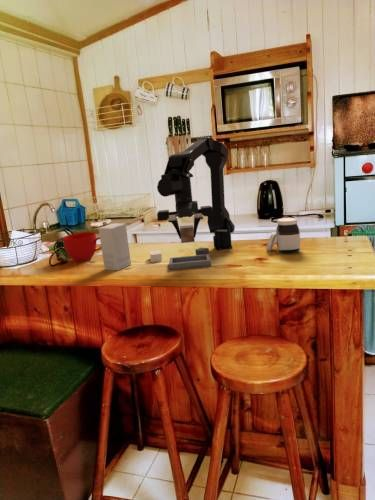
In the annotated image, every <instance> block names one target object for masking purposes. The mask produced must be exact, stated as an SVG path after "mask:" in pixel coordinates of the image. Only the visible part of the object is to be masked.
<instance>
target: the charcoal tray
mask: <svg viewBox="0 0 375 500" xmlns="http://www.w3.org/2000/svg"><path fill="white" fill-rule="evenodd" d="M209 256H210V253H209V254H204V255H196V254H195V255H187V256H186V255H185V256H175V257H174V256H173V257H169V259H168V261H169V263H168V265H169V271H175V270H185V269H196V268H204V267H212V263H211V261H212V260H211V257H209Z"/></svg>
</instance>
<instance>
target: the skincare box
mask: <svg viewBox="0 0 375 500" xmlns="http://www.w3.org/2000/svg"><path fill="white" fill-rule="evenodd" d="M98 234H99V237H100V239H99V241H100V247H101V248H102V249H101V254H102V259H103V267H104V270H105V271H106V270H107V271H115V270H118V271H120V270H122V269H125V268H127V267H129V266H130V264H131V265H132V260H131V254H130V246H129V237H128V231H127V223H125V222H122V223H121V222H120V223H119V222H117V223H115V222H114V223H110V224H107V225H104V226H101V227H98Z"/></svg>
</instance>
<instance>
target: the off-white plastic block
mask: <svg viewBox="0 0 375 500" xmlns="http://www.w3.org/2000/svg"><path fill="white" fill-rule="evenodd" d="M149 256H150V257H149V258H150V261H151V263H153V262H152V261H157V262H162V261H163V257H162V252H161V250H160V249H159V250H150V251H149ZM161 260H162V261H161Z"/></svg>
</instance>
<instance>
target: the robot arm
mask: <svg viewBox="0 0 375 500" xmlns="http://www.w3.org/2000/svg"><path fill="white" fill-rule="evenodd" d="M228 155H229V149H228V147H227V146H226V145H225V144H224V143H222V142H220V141H217V140H215V139H214V138H213V137H210V136H206V137H205V136H204V137H199V138H198V139H197V141H195V142H193V144H191V145H190V146H189V147H187V148H186V149H185V150H183V151H180V152H176V153H173V154H171V155H170V156H169V157H168V159H167V160H168V161H167V162H166V167H165V170H164V173H163V174H161V176H160V178H161V179H159V180H158V182H157V186H156V188H157V189H156V190H157V192H158V194H160V196H162V197H169V196H170V197H171V196H174V200H175V210H174V211H170V209H163V210H158V211H157V213H156V216H157V217H156V218H157V221H158V222H160V221H161V222H163V221H168V223H171V224H172V226H173V227H174V229H175V232H176V233H177V235H178V238H179V239H180V240H181V235H180V226H179V225H180V224H179V221H178V218H179V219H183V218H191V217H193V230H194V239H196V235H197V230H198V228H199V223H200V221H201V220H203V219H204V217H207V225H208V226H207V227H208V231H209V232H210V234H214V235H213V236H212V237H213V238H212V242H213V247H214V248H215V250H225V249H226V250H227V249H233V245H232V233H234V232H235V228H236V227H235V224H234V223H233V221H232V220H231V218H230V217H231V216H230V212H229V211H228V209H227V208H226V205H225V204H226V203H225V202H226V201H225V180H224V179H225V178H224V169H225V167H226V164H227V162H228ZM201 156H203V157H204V159H205V163H206V166H207V167H208V168H209V170H210V187H211V188H210V189H211V190H210V191H211V205H203V206H202V205H201V206H200V208H199V204H198V200H193V193H192V182H191V178H193V177H194V174H193V173H191V172H190V171H191V170H192V168H193V167H194V166H195V161H196V160H197V159H198V158H199V157H201ZM177 217H178V218H177Z"/></svg>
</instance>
